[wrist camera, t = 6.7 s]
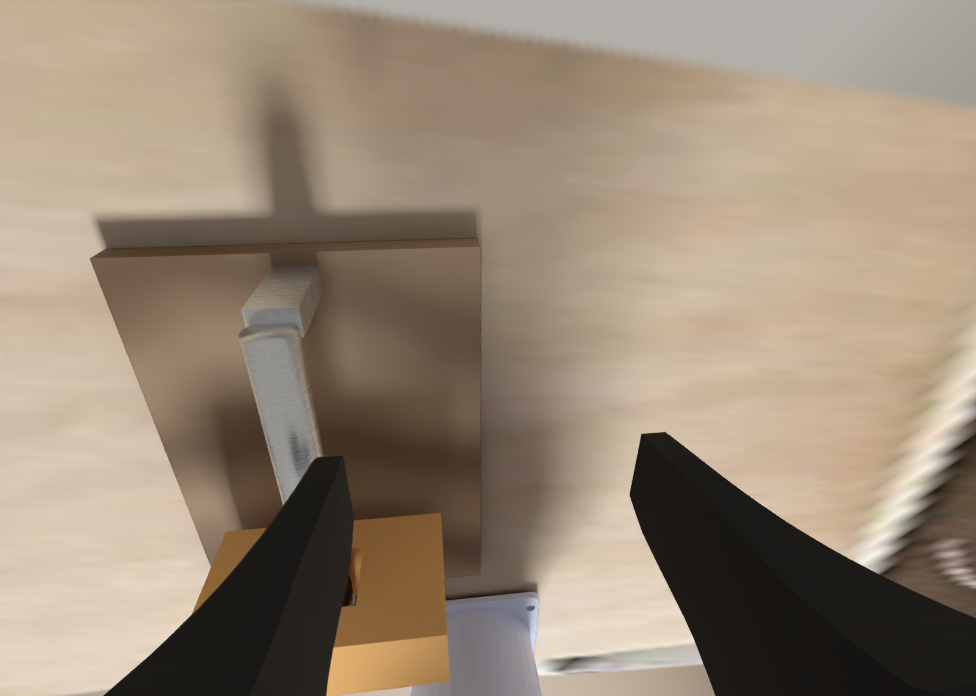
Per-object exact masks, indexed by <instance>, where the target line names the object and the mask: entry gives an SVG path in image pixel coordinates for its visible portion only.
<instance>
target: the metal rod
mask: <svg viewBox="0 0 976 696" xmlns="http://www.w3.org/2000/svg"><path fill="white" fill-rule="evenodd" d="M322 294H323V287H322V281H321V274H320V268H319V265H317V266H287V267H271V269H270V270H269V271H268V273H267V274H266V276H265V277H264V278H263V280H262V281H261V283H260V284H259V285H258V287H257V288H256V290H255V291H254V292H253V294H252V295H251V296H250V298H249V299H248V301H247V302H246V303H245V305H244V306H243V308H242V309H241V310H242V314H243V318H244V322H245V326H246V328H244V329H243V330H242V331H241V332H240V334H239V340H240V344H241V348H242V351H243V355H244V359H245V363H246V367H247V370H248V374H249V378H250V382H251V385H252V389H253V393H254V397H255V401H256V404H257V408H258V412H259V416H260V420H261V423H262V427H263V431H264V435H265V438H266V442H267V446H268V450H269V454H270V457H271V461H272V465H273V469H274V473H275V476H276V480H277V484H278V488H279V491H280V495H281V499H282V503H283V505H284V504H285V502H286V501H287V499H288V498H289V496H290V495H291V493H292V492H293V491H294V489H295V488H296V486H297V485H298V483H299V481H300V480H301V478H302V477H303V475H304V474H305V472H306V471H307V469H308V467H309V466H310V464H311V463H312V461H313V460H314V459H315V458H316V457H324V454H323V449H322V444H321V438H320V433H319V428H318V423H317V418H316V413H315V408H314V403H313V398H312V393H311V388H310V382H309V377H308V372H307V367H306V362H305V357H304V352H303V347H302V342H301V337H305V335H306V332H307V330H308V328H309V325H310V323H311V320H312V318H313V315H314V313H315V311H316V308H317V306H318V303H319V301H320V299H321V296H322ZM356 603H357V595H354V593H353V588H352V583H351V579H350V577H349V575H348V578H347V583H346V588H345V593H344V598H343V603H342V607H346V606H356Z"/></svg>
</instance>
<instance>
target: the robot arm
mask: <svg viewBox="0 0 976 696" xmlns="http://www.w3.org/2000/svg"><path fill="white" fill-rule="evenodd" d="M630 498H631V501H632V504H633V507H634V510H635V513H636V516H637V519H638V522H639V524H640V527H641V530H642V533H643V535H644V537H645V539H646V541H647V543H648V545H649V547H650V549H651V551H652V553H653V556H654V558H655V560H656V562H657V564H658V566H659V568H660V570H661V572H662V574H663V576H664V578H665V580H666V582H667V584H668V586H669V588H670V590H671V592H672V594H673V596H674V598H675V600H676V602H677V604H678V606H679V608H680V610H681V612H682V614H683V616H684V618H685V620H686V622H687V625H688V627H689V629H690V631H691V633H692V636H693V638H694V640H695V643H696V646H697V648H698V651H699V653H700V656H701V659H702V661H703V664H704V666H705V669H706V671H707V674H708V677H709V679H710V682H711V685H712V688H713V690H714V693H715V696H976V618H974V617H972V616H969V615H967V614H964V613H962V612H959V611H957V610H954V609H952V608H950V607H948V606H945V605H943V604H941V603H939V602H936V601H934V600H932V599H930V598H928V597H925V596H923V595H921V594H919V593H916V592H914V591H912V590H910V589H908V588H906V587H904V586H902V585H899V584H897V583H895V582H893V581H891V580H889V579H887V578H885V577H883V576H881V575H879V574H877V573H875V572H873V571H871V570H870V569H868V568H866V567H864V566H862V565H860V564H858V563H856V562H854V561H852V560H850V559H848V558H847V557H845V556H843V555H841V554H839V553H838V552H836V551H834V550H832V549H831V548H829V547H827V546H825V545H824V544H822V543H820V542H819V541H817V540H815V539H814V538H812V537H810V536H809V535H807V534H805V533H804V532H802V531H800V530H799V529H797V528H795V527H794V526H792V525H791V524H789V523H788V522H786V521H785V520H783V519H781V518H780V517H779V516H777V515H776V514H774V513H773V512H771V511H770V510H768V509H767V508H765V507H764V506H762V505H761V504H759V503H758V502H757V501H755V500H754V499H752V498H751V497H750V496H748V495H747V494H745V493H744V492H743V491H741V490H740V489H739V488H737V487H736V486H735V485H733V484H732V483H731V482H729V481H728V480H727V479H725V478H724V477H723V476H721V475H720V474H719V473H717V472H716V471H715V470H714V469H712V468H711V467H710V466H708V465H707V464H706V463H705V462H703V461H702V460H701V459H699V458H698V457H697V456H696V455H694V454H693V453H692V452H691V451H689V450H688V449H687V448H685V447H684V446H683V445H682V444H680V443H679V442H678V441H676V440H675V439H674V438H672V437H671V436H670V435H668V434H667V433H666V432H661V433H647V434H641V439H640V444H639V449H638V454H637V459H636V464H635V469H634V475H633V480H632V485H631V490H630ZM353 526H354V515H353V509H352V503H351V497H350V492H349V486H348V480H347V474H346V468H345V463H344V457H343V456H329V457H316V458H315V459H314V460H313V461H312V463H311V464H310V466H309V467H308V469H307V471H306V472H305V474H304V475H303V477H302V478H301V480H300V481H299V483H298V485H297V486H296V488H295V489H294V491H293V492H292V493H291V495H290V496H289V498H288V499H287V501H286V502H285V504H284V505H283V506H282V508H281V509H280V511H279V512H278V513H277V515H276V516H275V517H274V519H273V520H272V522H271V523H270V524H269V526H268V527H267V528H266V530H265V531H264V532H263V534H262V535H261V536H260V538H259V539H258V540H257V541H256V542H255V544H254V545H253V546H252V547H251V549H250V550H249V551H248V552H247V554H246V555H245V556H244V557H243V559H242V560H241V561H240V562H239V564H238V565H237V566H236V567H235V568H234V569H233V571H232V572H231V573H230V574H229V575H228V576H227V578H226V579H225V580H224V581H223V582H222V583H221V584H220V585H219V587H218V588H217V589H216V590H215V591H214V592H213V593H212V594H211V595H210V596H209V597H208V598H207V599H206V601H205V602H204V603H203V604H202V605H201V606H200V607H199V608H198V609H197V610H196V611H195V612H194V613H193V614H192V615H191V616H190V617H189V618H188V619H187V620H186V621H185V622H184V623H183V624H182V625H181V626H180V627H179V628H178V629H177V630H176V631H175V632H174V633H173V634H172V635H171V636H170V637H169V638H168V639H167V640H166V641H165V642H163V643H162V644H161V645H160V646H159V647H158V648H157V649H156V650H155V651H154V652H153V653H152V654H151V655H150V656H148V657H147V658H146V659H145V660H144V661H143V662H142V663H140V664H139V665H138V666H137V667H136V668H135V669H134V670H132V671H131V672H130V673H129V674H128V675H127V676H125V677H124V678H123V679H122V680H121V681H120V682H119V683H117V684H116V685H115V686H114V687H113V688H112V689H111V690H109V691H108V692H107V693H106V694H105V695H104V696H326V695H327V685H328V678H329V672H330V665H331V659H332V654H333V649H334V644H335V639H336V634H337V628H338V623H339V618H340V613H341V608H342V603H343V598H344V593H345V588H346V583H347V578H348V572H349V567H350V562H351V551H352V540H353ZM538 611H539V597H538V594H537V593H535V592H523V593H514V594H504V595H495V596H485V597H476V598H466V599H456V600H447V601H446V619H447V639H448V659H449V679H450V682H443V683H435V684H427V685H418V686H410V687H409V690H410V696H542V695H541V690H540V684H539V679H538V674H537V669H536V664H535V659H534V655H535V644H536V633H537V622H538Z"/></svg>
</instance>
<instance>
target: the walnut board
mask: <svg viewBox="0 0 976 696" xmlns="http://www.w3.org/2000/svg"><path fill="white" fill-rule="evenodd" d="M90 261H91V263H92V266H93V268H94V271H95V273H96V276H97V278H98V281H99V283H100V286H101V288H102V291H103V294H104V296H105V299H106V301H107V304H108V306H109V309H110V311H111V314H112V316H113V319H114V321H115V324H116V327H117V329H118V332H119V334H120V337H121V339H122V342H123V344H124V347H125V349H126V352H127V355H128V357H129V360H130V362H131V365H132V367H133V370H134V372H135V375H136V377H137V380H138V382H139V385H140V388H141V390H142V393H143V395H144V398H145V400H146V403H147V405H148V408H149V410H150V413H151V416H152V418H153V421H154V423H155V426H156V428H157V431H158V433H159V436H160V438H161V441H162V443H163V446H164V449H165V451H166V454H167V456H168V459H169V461H170V464H171V466H172V469H173V471H174V474H175V477H176V479H177V482H178V484H179V487H180V489H181V492H182V494H183V497H184V499H185V502H186V504H187V507H188V510H189V512H190V515H191V517H192V520H193V522H194V525H195V527H196V530H197V532H198V535H199V538H200V540H201V543H202V545H203V548H204V550H205V553H206V555H207V558H208V560H209V563H210V565H211V567H212V564H213V562H214V559H215V557H216V555H217V552H218V550H219V547H220V545H221V542H222V540H223V538H224V535H225V533H226V531H237V530H249V529H260V528H267V527H268V526H269V524H270V523H271V522H272V520H273V519H274V517H275V516H276V515H277V513H278V512H279V511H280V509H281V508H282V506H283V503H282V499H281V495H280V491H279V488H278V484H277V480H276V476H275V473H274V469H273V465H272V461H271V457H270V454H269V450H268V446H267V442H266V438H265V435H264V431H263V427H262V423H261V420H260V416H259V412H258V408H257V404H256V401H255V397H254V393H253V389H252V385H251V382H250V378H249V374H248V370H247V367H246V363H245V359H244V355H243V351H242V348H241V344H240V340H239V334H240V332H241V331H242V330H243V329H244V328H246V326H245V322H244V318H243V314H242V310H241V309H242V308H243V306H244V305H245V303H246V302H247V301H248V299H249V298H250V296H251V295H252V294H253V292H254V291H255V290H256V288H257V287H258V285H259V284H260V283H261V281H262V280H263V278H264V277H265V276H266V274H267V273H268V271H269V270H270V269H271V267H287V266H317V265H319V268H320V274H321V281H322V287H323V294H322V296H321V299H320V301H319V303H318V306H317V308H316V311H315V313H314V315H313V318H312V320H311V323H310V325H309V328H308V330H307V332H306V335H305V337H301V342H302V347H303V352H304V357H305V362H306V367H307V372H308V377H309V382H310V388H311V393H312V398H313V403H314V408H315V413H316V418H317V423H318V428H319V433H320V438H321V444H322V449H323V454H324V457H329V456H343V457H344V463H345V468H346V474H347V480H348V486H349V492H350V497H351V503H352V509H353V515H354V520H365V519H377V518H388V517H400V516H412V515H423V514H435V513H441V521H442V540H443V559H444V578H452V577H462V576H472V575H480V244H479V241H478V238H474V239H439V240H404V241H369V242H333V243H298V244H263V245H227V246H192V247H157V248H121V249H105V250H103V251H102V252H100V253H98V254H97V255H95V256H93V257H91V258H90Z"/></svg>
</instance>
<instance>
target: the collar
mask: <svg viewBox="0 0 976 696" xmlns="http://www.w3.org/2000/svg"><path fill="white" fill-rule="evenodd" d="M265 530H266V528H260V529H249V530H237V531H226V533H225V535H224V538H223V540H222V542H221V545H220V547H219V550H218V552H217V555H216V557H215V559H214V562H213V564H212V567H211V569H210V572H209V574H208V576H207V579H206V581H205V584H204V586H203V589H202V591H201V593H200V596H199V598H198V601H197V603H196V606H195V608H194V611H193V613H194V612H195V611H196V610H197V609H198V608H199V607H200V606H201V605H202V604H203V603H204V602H205V601H206V599H207V598H208V597H209V596H210V595H211V594H212V593H213V592H214V591H215V590H216V589H217V588H218V587H219V585H220V584H221V583H222V582H223V581H224V580H225V579H226V578H227V576H228V575H229V574H230V573H231V572H232V571H233V569H234V568H235V567H236V566H237V565H238V564H239V562H240V561H241V560H242V559H243V557H244V556H245V555H246V554H247V552H248V551H249V550H250V549H251V547H252V546H253V545H254V544H255V542H256V541H257V540H258V539H259V538H260V536H261V535H262V534H263V532H264V531H265ZM348 575H349V577H350V579H351V583H352V588H353V593H354V595H357V603H356V606H346V607H342V608H341V613H340V618H339V623H338V628H337V634H336V639H335V644H334V649H333V654H332V659H331V665H330V672H329V678H328V685H327V695H326V696H336V695H344V694H353V693H360V692H369V691H376V690H385V689H394V688H402V687H410V686H418V685H427V684H435V683H443V682H450V679H449V659H448V639H447V619H446V599H445V579H444V559H443V540H442V521H441V513H435V514H423V515H412V516H400V517H388V518H377V519H365V520H354V526H353V540H352V551H351V562H350V567H349V572H348ZM193 613H192V614H193Z"/></svg>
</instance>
